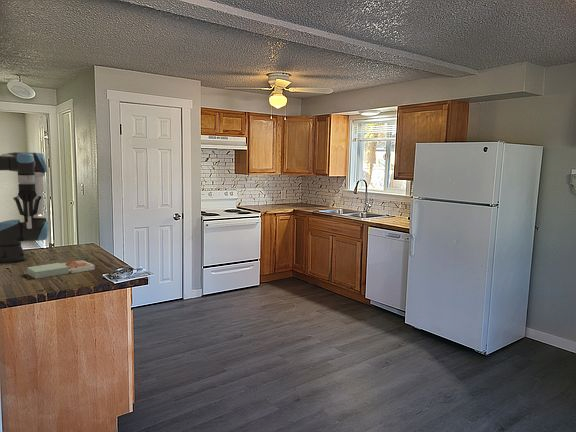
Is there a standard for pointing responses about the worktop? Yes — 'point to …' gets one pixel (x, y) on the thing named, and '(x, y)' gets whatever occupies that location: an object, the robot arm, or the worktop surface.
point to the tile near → (71, 264)
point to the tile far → (80, 264)
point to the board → (47, 270)
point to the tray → (81, 268)
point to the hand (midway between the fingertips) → (29, 228)
